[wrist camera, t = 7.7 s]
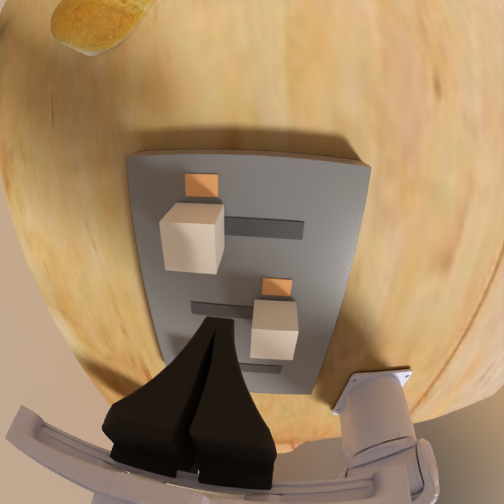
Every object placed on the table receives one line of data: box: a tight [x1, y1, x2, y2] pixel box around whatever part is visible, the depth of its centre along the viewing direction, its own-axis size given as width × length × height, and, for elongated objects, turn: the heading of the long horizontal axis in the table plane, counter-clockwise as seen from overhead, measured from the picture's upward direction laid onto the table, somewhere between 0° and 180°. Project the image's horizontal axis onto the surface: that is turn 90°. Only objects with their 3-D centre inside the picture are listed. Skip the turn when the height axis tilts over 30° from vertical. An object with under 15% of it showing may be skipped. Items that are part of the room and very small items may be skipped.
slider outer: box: [159, 203, 224, 274], centre depth 16 cm, size 3×3×3 cm
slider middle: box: [250, 299, 299, 360], centre depth 19 cm, size 3×3×3 cm
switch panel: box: [126, 149, 371, 394], centre depth 22 cm, size 23×15×2 cm, turn 178°
